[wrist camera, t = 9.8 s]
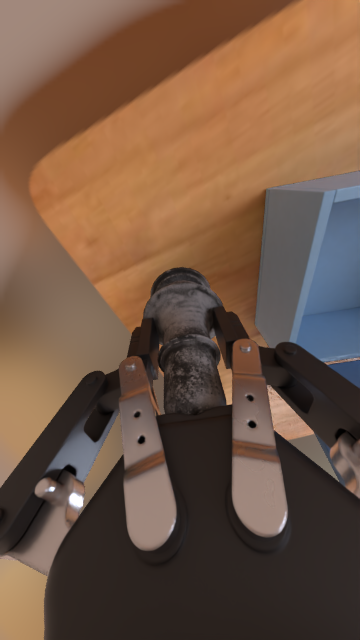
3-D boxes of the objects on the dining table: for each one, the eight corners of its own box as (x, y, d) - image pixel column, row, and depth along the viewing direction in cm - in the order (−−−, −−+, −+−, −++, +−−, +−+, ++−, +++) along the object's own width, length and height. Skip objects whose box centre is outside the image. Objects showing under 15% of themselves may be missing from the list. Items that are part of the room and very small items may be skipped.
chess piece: (209, 255, 15) (291, 393, 5) (218, 315, 18) (278, 468, 8) (136, 274, 15) (85, 431, 6) (158, 329, 19) (150, 487, 9)
